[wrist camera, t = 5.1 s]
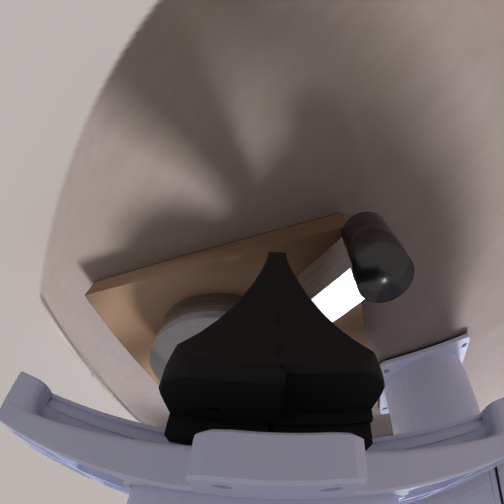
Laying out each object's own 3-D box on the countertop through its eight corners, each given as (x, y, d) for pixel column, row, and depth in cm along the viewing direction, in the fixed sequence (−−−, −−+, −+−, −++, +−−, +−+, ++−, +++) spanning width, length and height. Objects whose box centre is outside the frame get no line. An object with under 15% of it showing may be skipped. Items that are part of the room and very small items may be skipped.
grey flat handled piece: (239, 393, 19) (233, 431, 17) (142, 339, 17) (125, 379, 14) (424, 268, 13) (450, 312, 10) (318, 152, 10) (333, 175, 8)
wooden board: (365, 351, 19) (368, 369, 17) (171, 379, 22) (166, 394, 21) (341, 212, 13) (348, 227, 12) (95, 281, 17) (83, 296, 16)
